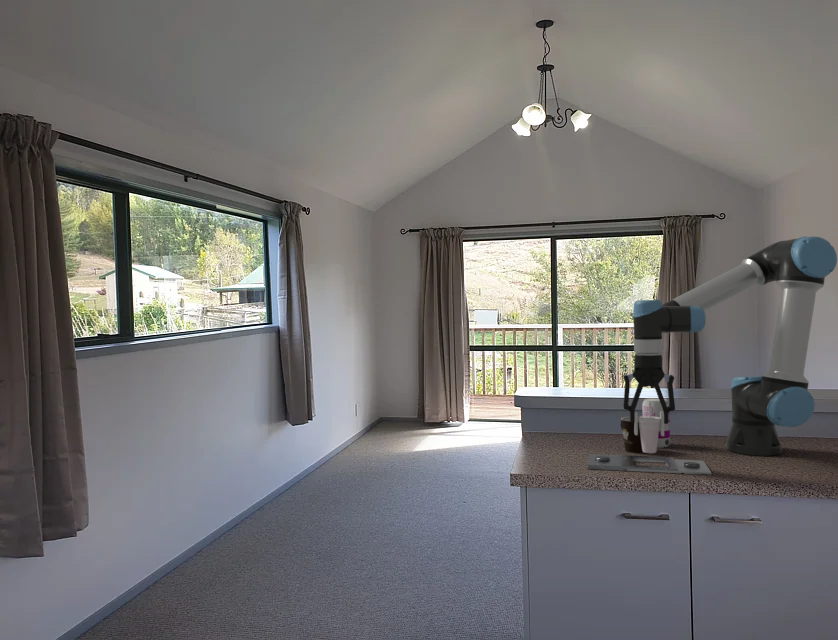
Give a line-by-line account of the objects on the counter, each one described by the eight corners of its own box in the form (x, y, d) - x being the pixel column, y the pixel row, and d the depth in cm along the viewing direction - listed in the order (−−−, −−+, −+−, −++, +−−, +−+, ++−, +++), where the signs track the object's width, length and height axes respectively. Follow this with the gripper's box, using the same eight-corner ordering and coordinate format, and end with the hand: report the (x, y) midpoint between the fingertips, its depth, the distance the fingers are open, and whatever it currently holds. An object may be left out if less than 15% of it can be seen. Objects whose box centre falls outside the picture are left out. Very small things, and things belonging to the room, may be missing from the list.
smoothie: (665, 451, 174) (664, 402, 174) (656, 455, 169) (655, 405, 169) (643, 448, 179) (642, 400, 178) (633, 452, 174) (633, 403, 174)
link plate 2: (703, 462, 176) (703, 458, 176) (711, 474, 164) (711, 470, 164) (624, 459, 182) (624, 455, 182) (626, 470, 170) (626, 466, 170)
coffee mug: (652, 454, 188) (651, 421, 187) (623, 453, 189) (622, 421, 189) (646, 445, 199) (645, 415, 199) (618, 445, 201) (618, 414, 200)
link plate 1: (672, 461, 178) (672, 455, 178) (678, 473, 166) (678, 466, 166) (588, 457, 185) (588, 451, 185) (588, 469, 173) (587, 462, 173)
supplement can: (672, 444, 200) (671, 398, 200) (667, 449, 193) (666, 402, 193) (646, 441, 205) (645, 397, 204) (640, 446, 198) (639, 400, 197)
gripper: (682, 352, 174) (684, 433, 175) (612, 352, 180) (613, 430, 180) (686, 355, 167) (687, 438, 168) (612, 355, 173) (614, 436, 173)
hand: (649, 434), depth 174 cm, fingers closed on smoothie, 6 cm apart
